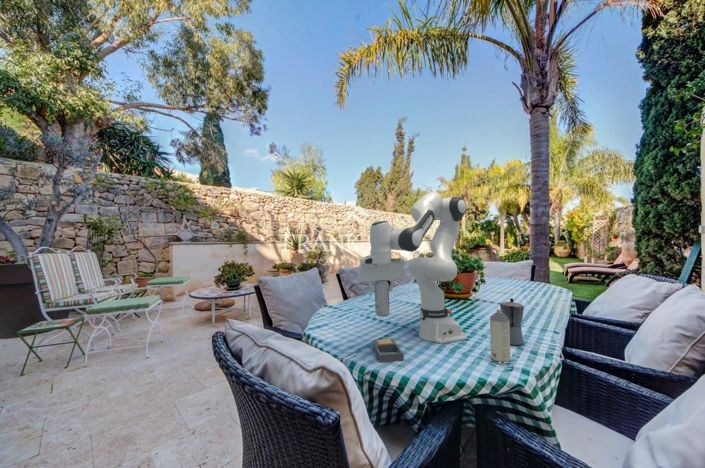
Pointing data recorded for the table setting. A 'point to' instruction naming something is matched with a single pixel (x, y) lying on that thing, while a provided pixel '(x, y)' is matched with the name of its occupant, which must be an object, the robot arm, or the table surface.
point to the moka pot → (514, 320)
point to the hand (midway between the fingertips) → (381, 291)
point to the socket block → (387, 350)
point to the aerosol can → (500, 337)
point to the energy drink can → (382, 298)
